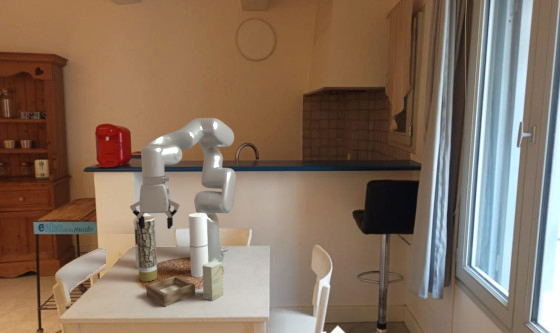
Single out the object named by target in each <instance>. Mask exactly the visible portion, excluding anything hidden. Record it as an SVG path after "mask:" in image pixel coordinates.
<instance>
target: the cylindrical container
mask: <svg viewBox="0 0 560 333" xmlns="http://www.w3.org/2000/svg"><path fill="white" fill-rule="evenodd" d="M188 229H189V230H188V232H189V234H188V235H189V249H190V250H189V254H190V258H189V259H190V275H192V276H191V277H193V276H194V277H193V278H203V277H202V276H203V268H202V265H205V264H207V263H208V238H207V214H206V213H196V212H194V213H190V214H188Z"/></svg>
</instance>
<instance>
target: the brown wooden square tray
mask: <svg viewBox="0 0 560 333" xmlns="http://www.w3.org/2000/svg"><path fill="white" fill-rule="evenodd" d="M145 290H146V297H147V298H149V299H151V300H152V301H154V302H155V303H158V304H160V305H161V306H163V307H164V308H165V307H169V306H170V305H173V304H175V303H179V302H182V301H183V300H185V299H189V298H191V297H193V296H196V284H194V283H193V282H191V281H188V280H187V279H185V278H183V277H180V276H178V275H174V276H171V277H168V278H165V279H161V280H159V281H155V282H152V283H150V284H147V285H145Z"/></svg>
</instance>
